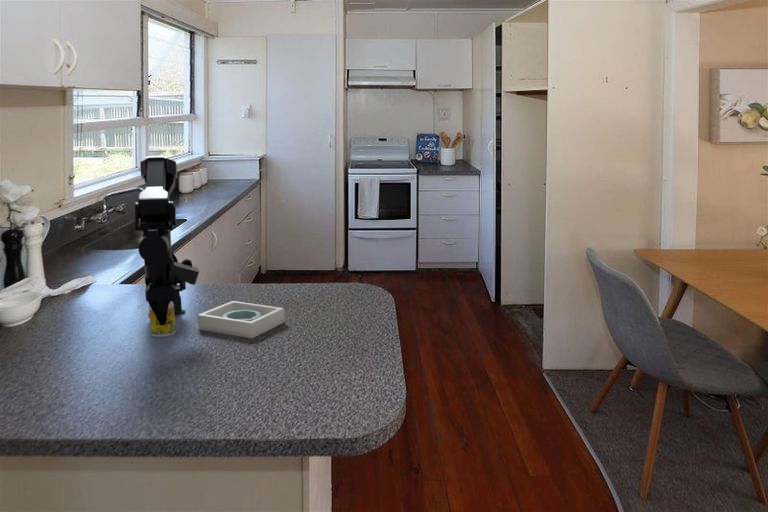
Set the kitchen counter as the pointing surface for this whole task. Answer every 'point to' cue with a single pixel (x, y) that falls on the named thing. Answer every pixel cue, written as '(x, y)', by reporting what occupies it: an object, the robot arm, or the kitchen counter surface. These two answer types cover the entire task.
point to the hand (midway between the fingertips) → (162, 321)
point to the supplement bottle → (165, 329)
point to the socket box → (241, 319)
